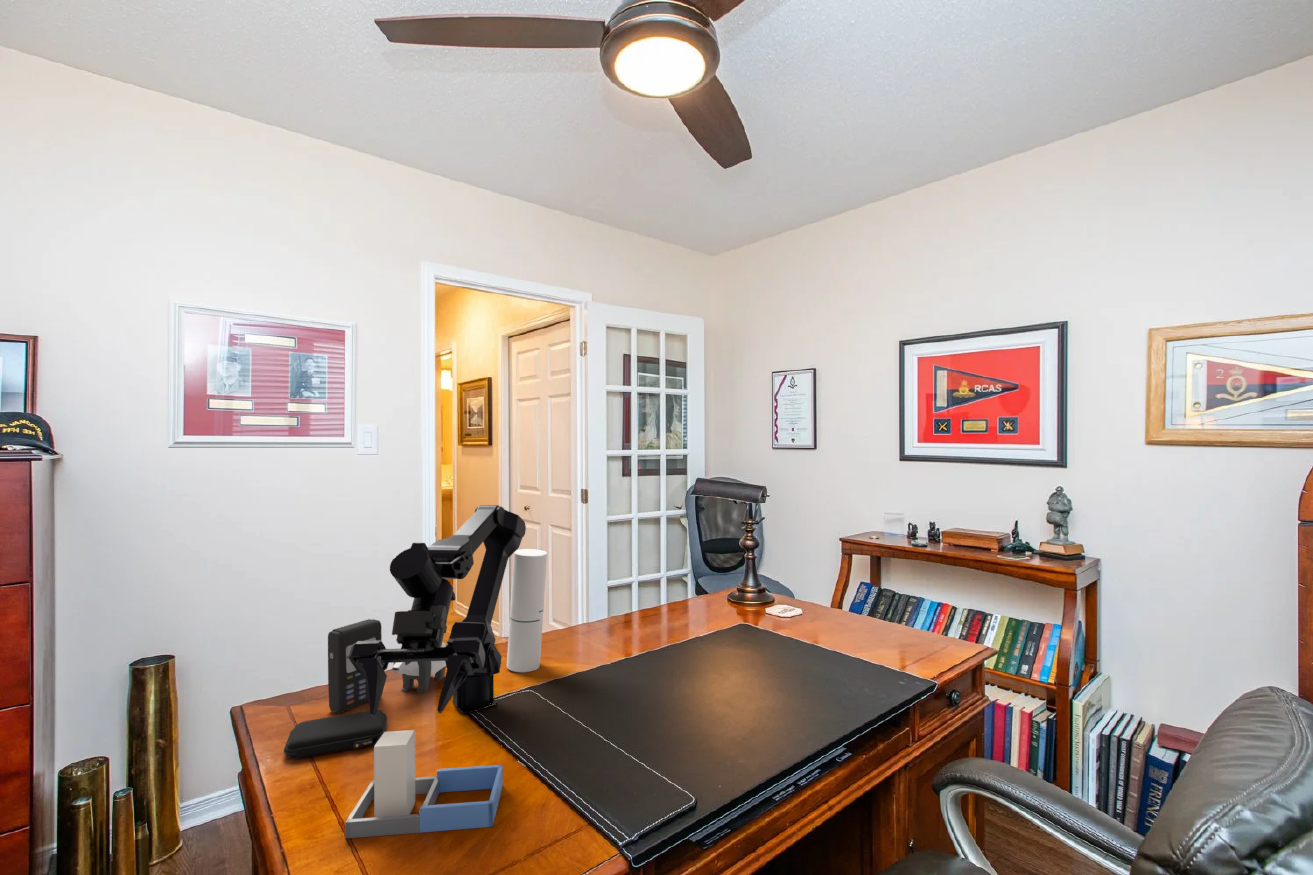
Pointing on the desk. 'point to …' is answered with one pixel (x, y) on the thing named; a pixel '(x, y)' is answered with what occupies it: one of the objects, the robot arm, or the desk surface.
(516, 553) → the cylindrical container
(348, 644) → the card reader
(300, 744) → the carrying case or bag
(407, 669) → the giant panda
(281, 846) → the desk surface
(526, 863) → the desk surface
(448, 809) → the organizer
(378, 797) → the white rectangular block
